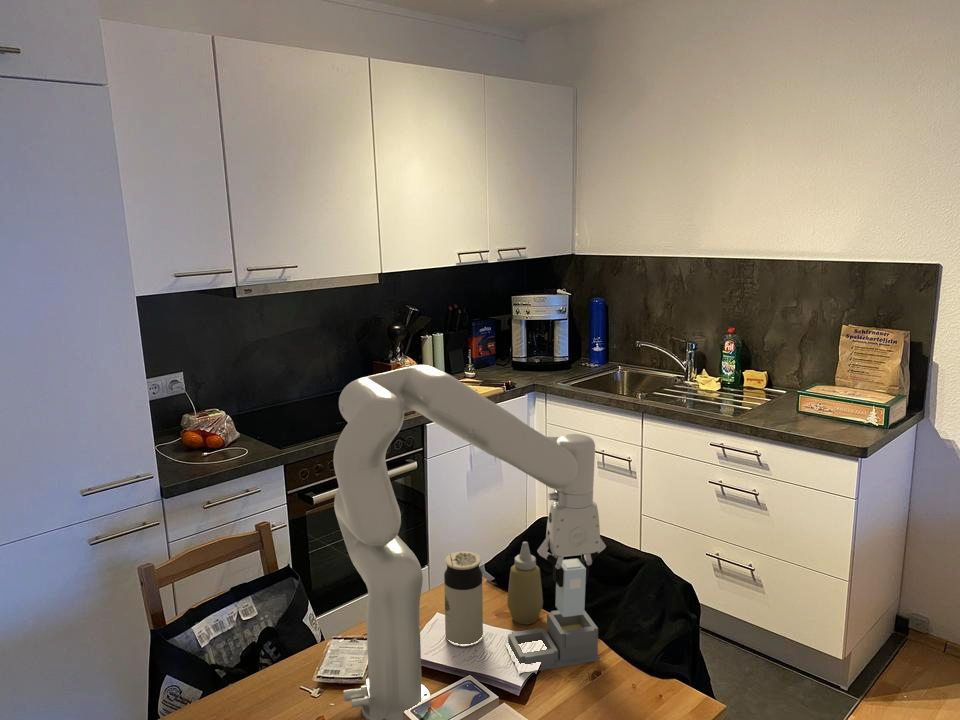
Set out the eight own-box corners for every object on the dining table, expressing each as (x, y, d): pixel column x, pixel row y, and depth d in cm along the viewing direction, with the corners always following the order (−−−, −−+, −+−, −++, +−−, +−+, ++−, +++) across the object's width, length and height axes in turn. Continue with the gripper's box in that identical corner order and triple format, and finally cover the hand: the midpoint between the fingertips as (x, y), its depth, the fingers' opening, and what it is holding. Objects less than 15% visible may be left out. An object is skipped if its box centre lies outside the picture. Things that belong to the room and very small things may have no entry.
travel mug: (483, 626, 155) (482, 550, 152) (482, 648, 148) (481, 568, 144) (446, 626, 156) (445, 550, 152) (444, 648, 148) (442, 568, 144)
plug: (563, 617, 142) (565, 570, 140) (555, 605, 147) (556, 559, 145) (584, 614, 143) (586, 567, 141) (575, 603, 148) (577, 557, 146)
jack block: (518, 674, 139) (518, 644, 138) (504, 645, 149) (504, 616, 147) (599, 660, 143) (600, 631, 142) (580, 633, 153) (580, 605, 152)
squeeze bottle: (500, 613, 161) (500, 539, 157) (532, 605, 164) (532, 532, 161) (517, 631, 154) (517, 554, 150) (549, 622, 157) (550, 546, 153)
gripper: (539, 507, 135) (537, 596, 138) (621, 500, 139) (617, 586, 142) (527, 493, 142) (525, 578, 145) (605, 486, 146) (601, 569, 150)
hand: (570, 581), depth 144 cm, fingers closed on plug, 4 cm apart
